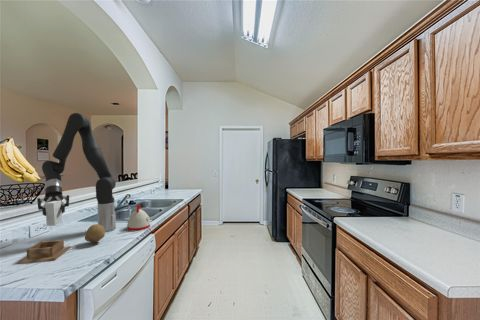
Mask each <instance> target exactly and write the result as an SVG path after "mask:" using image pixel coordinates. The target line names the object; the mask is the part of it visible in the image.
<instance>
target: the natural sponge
mask: <svg viewBox="0 0 480 320" xmlns="http://www.w3.org/2000/svg"><path fill="white" fill-rule="evenodd" d="M105 235H106V232H105V230H104V228H103V227H102V226H101V225H99V224H98V223H95V224H92V225H90V226H89V227H88V228H87V230H86V231H85V234H84V241H86V242H88V243H92V244H96V243H98V242H99V241H102V239H103V238H104V237H105Z"/></svg>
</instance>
